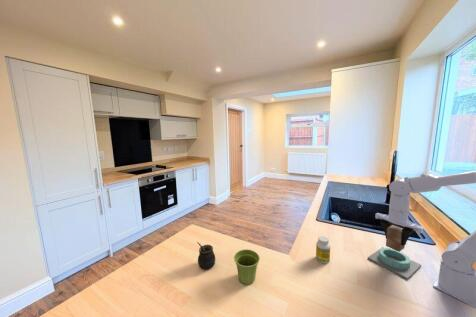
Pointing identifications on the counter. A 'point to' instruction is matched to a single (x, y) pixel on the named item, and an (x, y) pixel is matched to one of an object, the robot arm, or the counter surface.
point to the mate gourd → (206, 257)
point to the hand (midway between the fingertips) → (395, 241)
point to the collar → (395, 262)
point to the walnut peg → (394, 238)
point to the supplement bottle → (323, 250)
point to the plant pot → (246, 265)
